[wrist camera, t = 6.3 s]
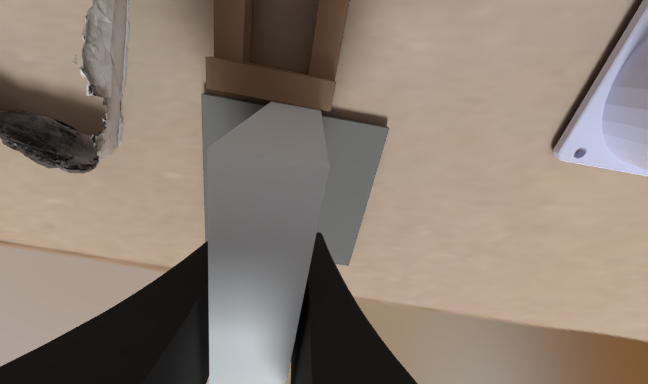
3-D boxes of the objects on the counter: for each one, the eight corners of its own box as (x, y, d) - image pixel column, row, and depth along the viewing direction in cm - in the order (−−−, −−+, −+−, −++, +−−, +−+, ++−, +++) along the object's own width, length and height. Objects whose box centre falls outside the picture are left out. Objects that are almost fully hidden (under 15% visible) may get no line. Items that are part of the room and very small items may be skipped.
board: (320, 107, 10) (329, 168, 4) (291, 277, 14) (272, 450, 8) (274, 98, 10) (207, 148, 4) (258, 274, 14) (210, 447, 7)
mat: (386, 126, 12) (388, 128, 11) (347, 260, 15) (348, 265, 15) (205, 93, 11) (201, 94, 10) (208, 243, 14) (205, 247, 14)
